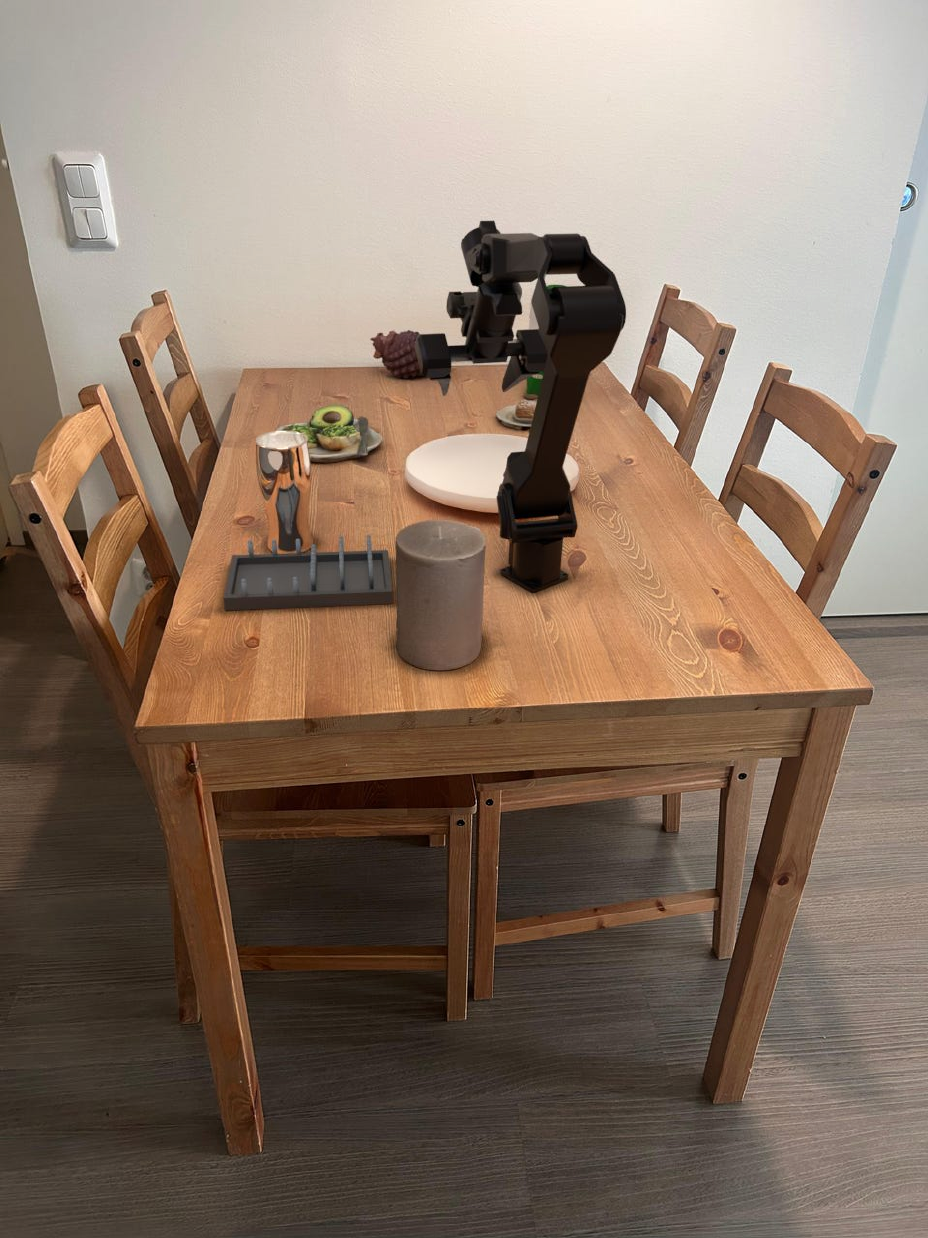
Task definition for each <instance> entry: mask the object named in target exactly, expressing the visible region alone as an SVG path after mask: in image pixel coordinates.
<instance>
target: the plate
mask: <svg viewBox="0 0 928 1238" xmlns="http://www.w3.org/2000/svg"><path fill="white" fill-rule="evenodd" d="M527 441H528V437H524V436H518V435H512V434H501V433H468V434H458V435H450V436H445V437H441V438H436V439H434V440H433V439H432V440H431V441H428V442H426V443H423V444H422V445H420V446H418V447H417V448H416V449H414V450H412V451H411V452H410V453H409V455H407V458H406V461H405V467H404V476H405V479H406V481H407V484H408V485H409V486H410V487H411V488H412V489H414V491H415V492H417V493H419V494H421V495H422V496H424V497H425V498H427V499H429V500H431V501H434V502H437V503H440V504H442V505H445V506H450V507H453V508H459V509H462V510H466V511H467V510H468V511H475V512H482V513H491V514H492V513H493V514H495V513H496V514H499V512H498V505H497V495H498V491H499V486H500V484H502V483H503V479H504V477H503V474H504V472H505V469H506V464H507V458H508V456H509V455H510V453H511V452H523V451H525V449H526V445H527ZM563 469H564V471H565V474H566V476H567V479H568V481H569V484H570V491H571V492H573V491H574V490H575V489H576V488H577V485H578V483H579V481H580V469H579V465H578V462H577V461H576V460H575V459H574V458H573V456H571V455H570V454H568V453H567V454H566V457H565V461H564V464H563Z"/></svg>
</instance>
